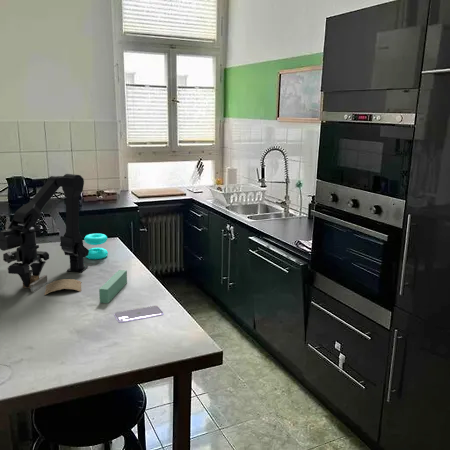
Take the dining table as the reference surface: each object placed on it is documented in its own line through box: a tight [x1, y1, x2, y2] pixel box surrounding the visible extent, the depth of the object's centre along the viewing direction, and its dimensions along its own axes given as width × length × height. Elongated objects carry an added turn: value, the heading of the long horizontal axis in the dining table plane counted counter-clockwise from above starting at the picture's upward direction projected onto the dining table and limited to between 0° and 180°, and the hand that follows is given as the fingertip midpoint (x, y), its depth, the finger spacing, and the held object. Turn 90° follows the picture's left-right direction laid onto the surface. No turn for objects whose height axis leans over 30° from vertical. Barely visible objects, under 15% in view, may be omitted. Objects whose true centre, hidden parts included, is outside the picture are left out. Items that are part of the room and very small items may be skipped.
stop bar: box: [98, 269, 128, 304], centre depth 166 cm, size 20×3×5 cm, turn 173°
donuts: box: [83, 232, 109, 260], centre depth 205 cm, size 10×10×10 cm
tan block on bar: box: [21, 274, 49, 293], centre depth 169 cm, size 6×10×4 cm, turn 173°
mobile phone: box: [113, 305, 165, 323], centre depth 149 cm, size 8×1×15 cm
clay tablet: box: [44, 278, 82, 296], centre depth 168 cm, size 14×10×3 cm
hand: (31, 284), depth 170 cm, fingers open, 6 cm apart
